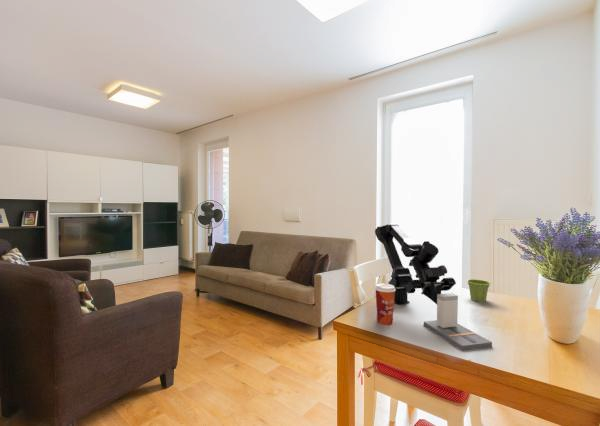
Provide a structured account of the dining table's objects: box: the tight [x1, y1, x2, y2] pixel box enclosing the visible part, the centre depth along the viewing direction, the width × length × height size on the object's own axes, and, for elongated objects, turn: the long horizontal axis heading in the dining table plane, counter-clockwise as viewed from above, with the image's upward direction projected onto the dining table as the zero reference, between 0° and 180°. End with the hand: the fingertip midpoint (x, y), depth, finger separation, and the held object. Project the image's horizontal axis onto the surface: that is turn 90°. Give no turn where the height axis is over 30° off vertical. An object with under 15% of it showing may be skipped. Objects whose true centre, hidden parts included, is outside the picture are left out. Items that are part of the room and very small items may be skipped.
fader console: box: [423, 319, 493, 352], centre depth 101 cm, size 19×11×2 cm, turn 13°
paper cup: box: [374, 283, 396, 326], centre depth 113 cm, size 8×8×14 cm
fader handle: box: [436, 292, 459, 328], centre depth 105 cm, size 3×6×11 cm, turn 103°
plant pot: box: [466, 278, 491, 303], centre depth 138 cm, size 9×9×9 cm
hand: (440, 305), depth 108 cm, fingers closed
